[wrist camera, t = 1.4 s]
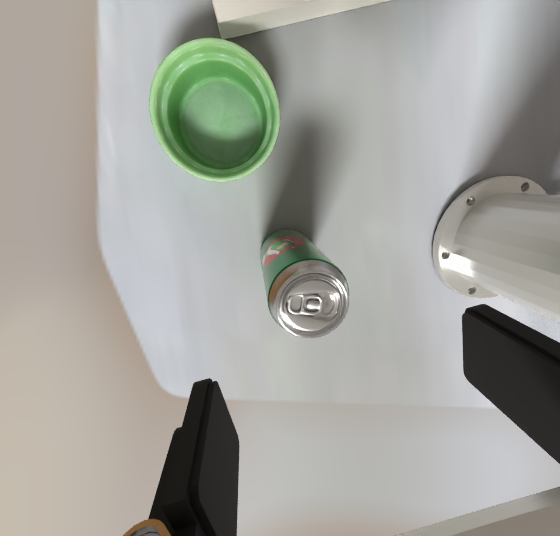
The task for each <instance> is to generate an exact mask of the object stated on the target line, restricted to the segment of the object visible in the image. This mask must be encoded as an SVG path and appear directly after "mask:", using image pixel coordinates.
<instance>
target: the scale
mask: <svg viewBox="0 0 560 536" xmlns="http://www.w3.org/2000/svg"><path fill="white" fill-rule="evenodd" d="M386 1H391V0H212V4H213V8H214V12H215V16H216V20H217V24H218V28H219V32H220V36H221V39H228V38H233V37H237V36H241V35H245V34H250V33H254V32H258V31H263V30H267V29H271V28H275V27H280V26H284V25H288V24H292V23H297V22H301V21H305V20H309V19H314V18H318V17H322V16H327V15H331V14H335V13H339V12H344V11H348V10H352V9H356V8H361V7H365V6H369V5H373V4H378V3H382V2H386Z"/></svg>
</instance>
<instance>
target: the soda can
mask: <svg viewBox="0 0 560 536" xmlns="http://www.w3.org/2000/svg"><path fill="white" fill-rule="evenodd" d="M261 264H262V270H263V276H264V282H265V289H266V295H267V301H268V307H269V310H270V313H271V315H272V317H273V319H274V320H275V321H276V322H277V323H278V324H279V325H280V326H281V327H282V328H284V329H285V330H287V331H288V332H290V333H291V334H293V335H295V336H298V337H302V338H316V337H321V336H324V335H326V334H328V333H330V332H331V331H333V330H334V329H335V328H337V327H338V326H339V325H340V323H341V322H342V321H343V319H344V318H345V316H346V313H347V310H348V305H349V288H348V283H347V281H346V278H345V276H344V275H343V273H342V272H341V271H340V270H339V269H338V268H337V267H336V266H335V265H334V264H333V263H332V262H331V261H330V260H329V259H328V258H327V257H326V256H325V255H324V254H323V253H322V252H321V251H320V250H319V249H318V248H317V247H316V246H315V245H314V244H313V243H312V242H311V241H310V240H309V239H308V238H307V237H306V236H304V235H303V234H302V233H300V232H298V231H296V230H291V229H284V230H279V231H277V232H275V233H273V234H271V235H270V236H269V237H268V238H267V239H266V240H265V242H264V244H263V246H262V249H261Z"/></svg>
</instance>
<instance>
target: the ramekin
mask: <svg viewBox="0 0 560 536" xmlns="http://www.w3.org/2000/svg"><path fill="white" fill-rule="evenodd" d="M149 109H150V117H151V121H152V125H153V128H154V131H155V134H156V136H157V139H158V141H159V142H160V144H161V146H162V148H163V149H164V150H165V152H166V153H167V154H168V156H169V157H170V158H171V159H172V160H173V161H174V162H175V163H176V164H177V165H178V166H180V167H181V168H182V169H184V170H185V171H187V172H188V173H190V174H192V175H194V176H196V177H199V178H201V179H205V180H209V181H215V182H226V181H233V180H237V179H240V178H242V177H245V176H247V175H249V174H250V173H252V172H253V171H255V170H256V169H257V168H259V167H260V166H261V165H262V164H263V163H264V162H265V160H266V159H267V158H268V156H269V155H270V153H271V152H272V150H273V148H274V146H275V143H276V141H277V137H278V133H279V128H280V107H279V101H278V97H277V93H276V90H275V87H274V85H273V82H272V80H271V78H270V76H269V75H268V73H267V71H266V70H265V68H264V67H263V66H262V64H261V63H260V62H259V61H258V60H257V59H256V58H255V57H254V56H253V55H252V54H251V53H250V52H249V51H247V50H246V49H244V48H243V47H241V46H239V45H237V44H235V43H233V42H231V41H227V40H224V39H219V38H199V39H195V40H191V41H189V42H186V43H184V44H182V45H180V46H178V47H177V48H176V49H174V50H173V51H172V52H171V53H170V54H169V55H168V56H167V57H166V58H165V59H164V60H163V61H162V63H161V64H160V66H159V67H158V69H157V71H156V74H155V76H154V78H153V82H152V85H151V89H150V98H149Z"/></svg>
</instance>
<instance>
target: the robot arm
mask: <svg viewBox="0 0 560 536" xmlns="http://www.w3.org/2000/svg"><path fill="white" fill-rule="evenodd" d="M433 261H434V266H435V269H436V271H437V273H438V275H439V277H440V278H441V280H442V281H443V282H444V284H446V285H447V286H448V287H449V288H451V289H452V290H454V291H456V292H458V293H459V294H461V295H464V296H467V297H470V298H479V299H481V298H491V297H495V296H498V295H499V296H502V297H504V298H506V299H508V300H510V301H512V302H515V303H517V304H519V305H521V306H523V307H526V308H528V309H530V310H532V311H534V312H536V313H539V314H541V315H543V316H545V317H547V318H550V319H552V320H554V321H556V322H558V323H560V195H548V194H547V193H546V191H545V190H544V189H543V188H542V187H541V186H540V185H539V184H537V183H535V182H534V181H532V180H530V179H527V178H524V177H521V176H497V177H492V178H489V179H485V180H483V181H480V182H478V183H476V184H474V185H472V186H471V187H469V188H468V189H466V190H465V191H464V192H462V193H461V194H460V195H459V196H458V197H457V198H456V199H455V200H454V201H453V202H452V203H451V205H450V206H449V207H448V208H447V210H446V211H445V213H444V214H443V216H442V218H441V220H440V222H439V224H438V227H437V229H436V232H435V235H434V241H433ZM462 332H463V370H464V375H465V377H466V379H467V380H468V381H469V382H470V383H471V384H472V385H473V386H474V387H475V388H476V389H478V390H479V391H480V392H481V393H482V394H483V395H484V396H485V397H486V398H487V399H489V400H490V401H491V402H492V403H493V404H494V405H495V406H496V407H497V408H499V409H500V410H501V411H502V412H503V413H504V414H505V415H506V416H507V417H509V418H510V419H511V420H512V421H513V422H514V423H515V424H517V426H518V427H519V428H521V429H522V430H523V431H524V432H525V433H526V434H527V435H528V436H529V437H530V438H532V439H533V440H534V441H535V442H536V443H537V444H538V445H539V446H540V447H542V448H543V449H544V450H545V451H546V452H547V453H548V454H549V455H550V456H551V457H553V458H554V459H555V460H556V461H557V462H558V463H559V464H560V343H559V342H557V341H555V340H553V339H551V338H549V337H547V336H545V335H544V334H542V333H540V332H538V331H536V330H534V329H532V328H530V327H528V326H526V325H524V324H522V323H520V322H519V321H517V320H515V319H513V318H511V317H509V316H507V315H505V314H503V313H501V312H499V311H497V310H495V309H493V308H492V307H490V306H488V305H485V304H481V305H477V306H473V307H470V308H467V309H466V310H465V313H464V314H463V315H462ZM238 471H239V439H238V435H237V432H236V429H235V427H234V424H233V422H232V419H231V416H230V414H229V411H228V409H227V406H226V403H225V400H224V398H223V395H222V392H221V390H220V387H219V385H218V382H217V381H214V382H212V380H211V379H210V378H209V379H205V380H201V381H198V382H195V383H194V384H193V387H192V391H191V394H190V398H189V402H188V406H187V410H186V413H185V417H184V421H183V425H182V427H180V428H177V429H176V430H175V431H174V434H173V437H172V440H171V444H170V447H169V451H168V454H167V457H166V461H165V464H164V468H163V471H162V474H161V478H160V481H159V484H158V488H157V491H156V495H155V498H154V502H153V505H152V509H151V512H150V515H149V519H148V520H144V521H142V522H140V523H138V524H136V525H134V526H133V527H132V528H131V529H130V530H128V531H127V532H126V533H125V534H124V535H123V536H237V535H236V534H237V504H238V502H237V501H238ZM396 536H560V487H557V488H554V489H550V490H547V491H543V492H540V493H536V494H533V495H530V496H526V497H523V498H519V499H516V500H513V501H509V502H506V503H502V504H499V505H496V506H492V507H489V508H486V509H482V510H479V511H476V512H472V513H469V514H466V515H462V516H459V517H455V518H452V519H449V520H446V521H442V522H439V523H435V524H432V525H429V526H426V527H422V528H419V529H416V530H412V531H409V532H406V533H402V534H399V535H396Z"/></svg>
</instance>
